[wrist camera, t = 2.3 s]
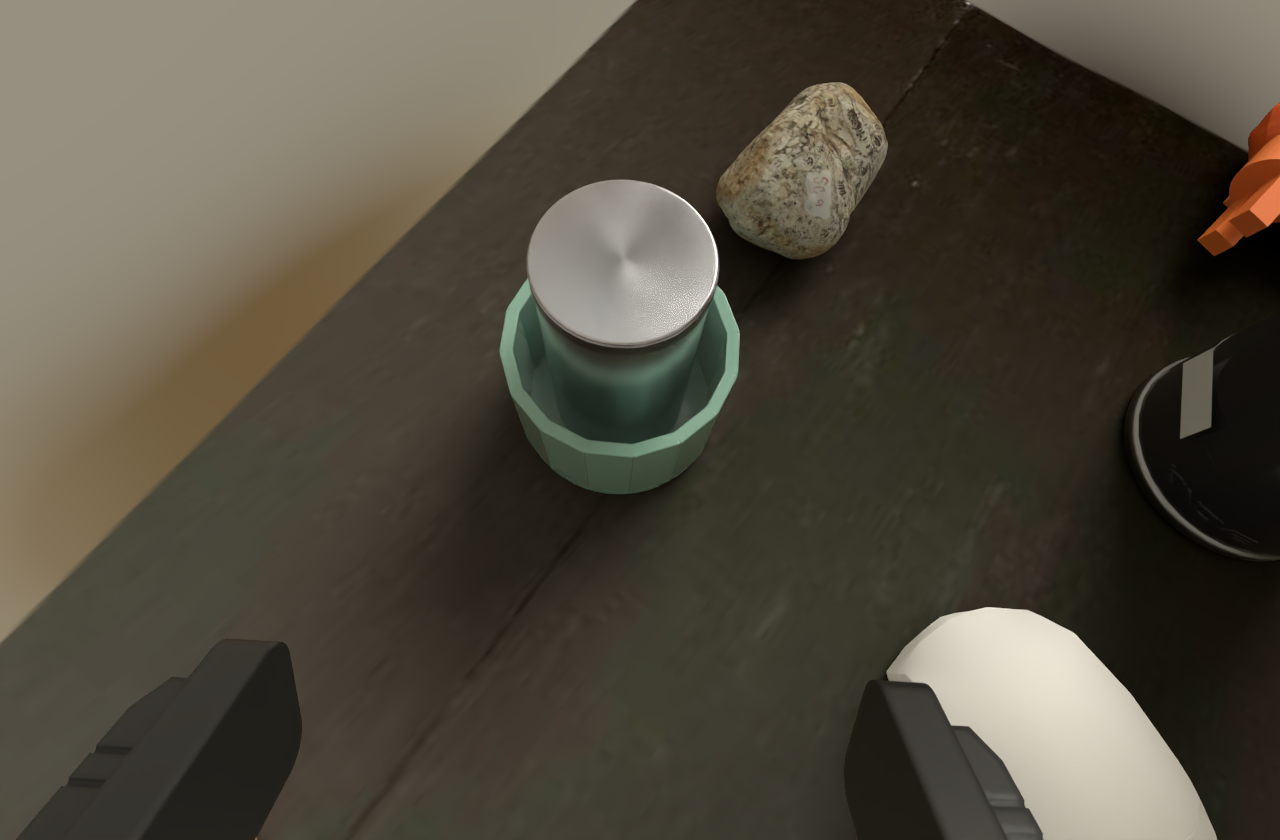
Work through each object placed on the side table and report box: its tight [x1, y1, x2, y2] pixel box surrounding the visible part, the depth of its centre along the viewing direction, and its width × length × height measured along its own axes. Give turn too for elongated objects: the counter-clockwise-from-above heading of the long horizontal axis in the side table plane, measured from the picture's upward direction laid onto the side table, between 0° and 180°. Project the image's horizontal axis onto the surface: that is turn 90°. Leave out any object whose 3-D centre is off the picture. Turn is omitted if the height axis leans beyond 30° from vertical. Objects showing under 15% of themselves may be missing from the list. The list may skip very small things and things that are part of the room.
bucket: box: [499, 278, 740, 494], centre depth 28 cm, size 9×9×6 cm
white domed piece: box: [886, 607, 1217, 840], centre depth 24 cm, size 6×13×6 cm, turn 25°
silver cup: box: [526, 180, 720, 444], centre depth 25 cm, size 6×6×11 cm
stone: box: [716, 82, 888, 259], centre depth 32 cm, size 6×9×5 cm
